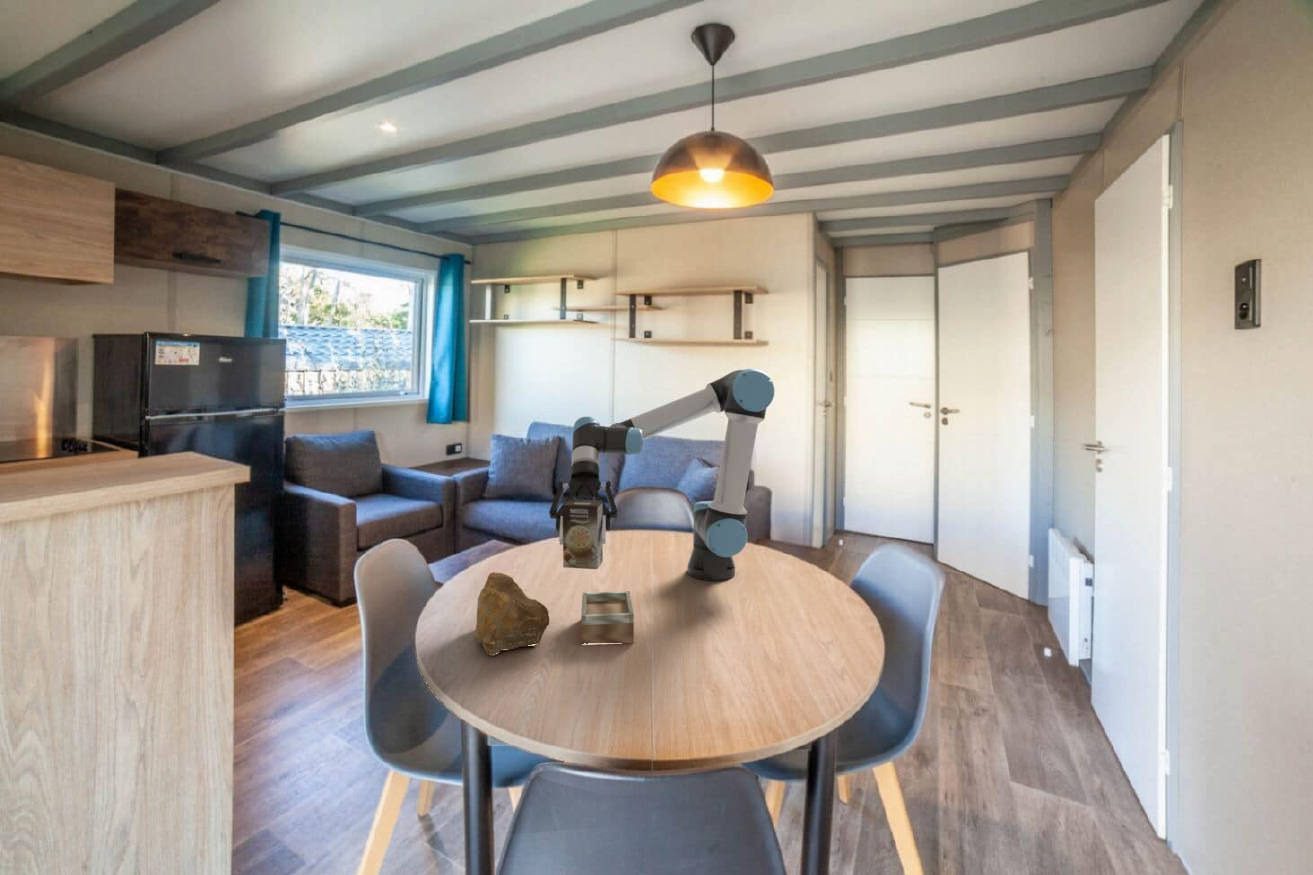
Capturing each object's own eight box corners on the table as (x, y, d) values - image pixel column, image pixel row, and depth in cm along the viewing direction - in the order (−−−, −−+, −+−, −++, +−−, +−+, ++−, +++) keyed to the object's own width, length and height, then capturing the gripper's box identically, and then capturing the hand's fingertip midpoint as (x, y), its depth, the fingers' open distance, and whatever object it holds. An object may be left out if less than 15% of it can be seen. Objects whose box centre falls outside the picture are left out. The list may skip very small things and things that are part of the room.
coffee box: (562, 568, 142) (560, 504, 140) (569, 559, 148) (568, 498, 146) (598, 569, 141) (597, 505, 139) (604, 561, 147) (603, 499, 145)
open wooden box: (629, 617, 148) (629, 591, 147) (633, 643, 133) (633, 614, 132) (582, 619, 147) (582, 592, 146) (581, 645, 132) (581, 616, 131)
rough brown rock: (548, 666, 124) (553, 598, 123) (467, 667, 120) (472, 597, 120) (546, 625, 146) (550, 567, 146) (478, 625, 143) (482, 566, 142)
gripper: (626, 474, 158) (628, 547, 144) (544, 475, 157) (538, 549, 143) (627, 458, 152) (628, 533, 138) (541, 459, 151) (534, 534, 137)
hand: (582, 541), depth 141 cm, fingers closed on coffee box, 10 cm apart
